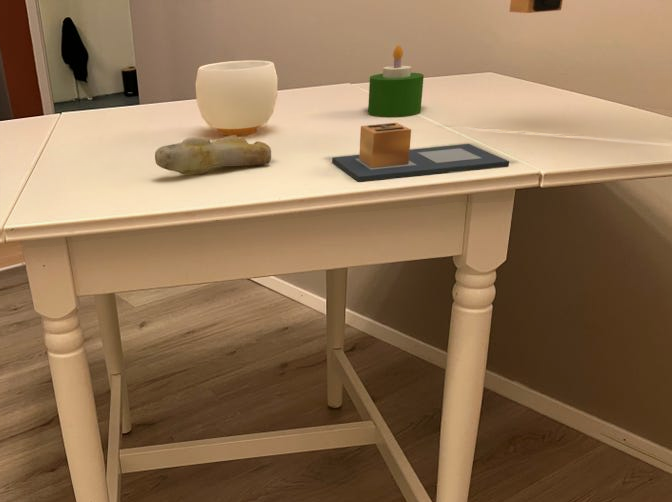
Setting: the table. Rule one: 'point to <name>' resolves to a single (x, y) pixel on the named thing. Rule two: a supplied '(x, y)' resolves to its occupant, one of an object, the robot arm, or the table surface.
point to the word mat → (424, 163)
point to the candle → (395, 90)
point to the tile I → (526, 6)
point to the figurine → (211, 154)
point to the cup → (236, 95)
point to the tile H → (385, 145)
